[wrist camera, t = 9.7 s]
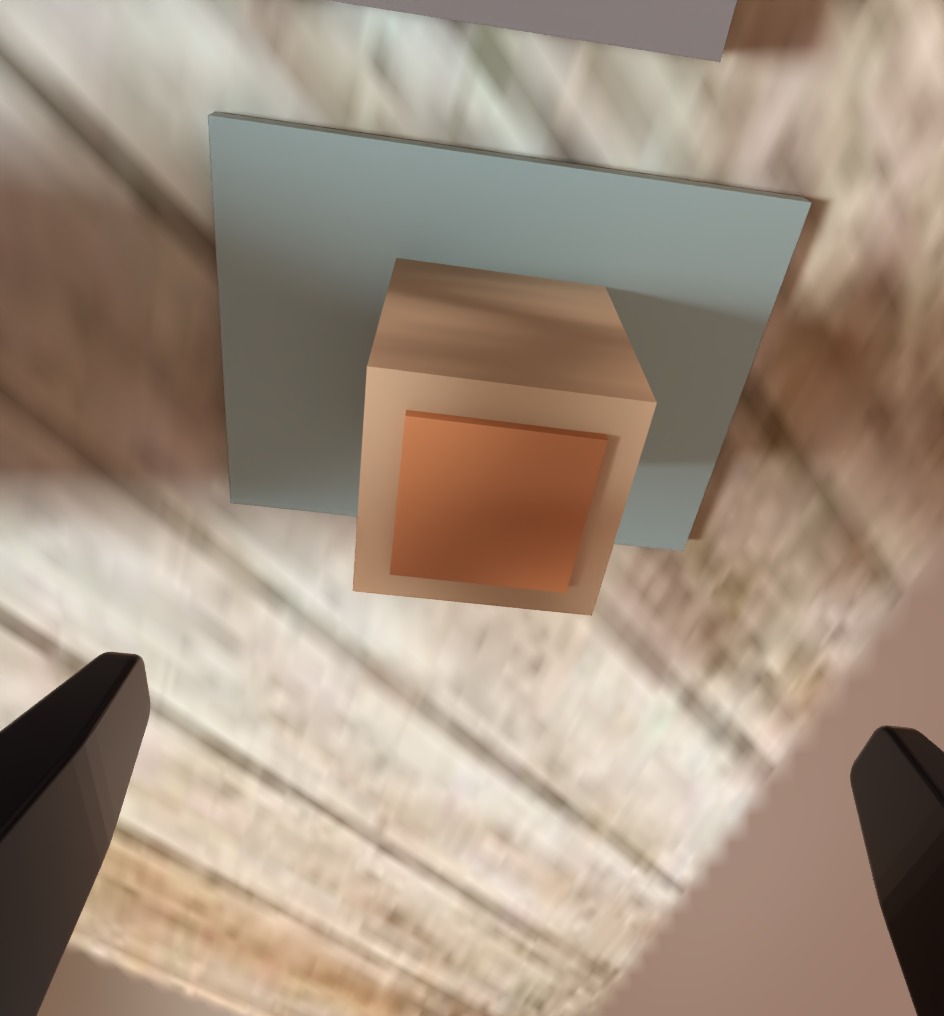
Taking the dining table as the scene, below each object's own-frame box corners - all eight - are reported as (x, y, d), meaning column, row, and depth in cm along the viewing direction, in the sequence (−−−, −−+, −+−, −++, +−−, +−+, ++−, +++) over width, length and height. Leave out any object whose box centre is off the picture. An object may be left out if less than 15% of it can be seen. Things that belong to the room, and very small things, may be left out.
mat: (235, 492, 20) (230, 502, 19) (215, 111, 15) (207, 115, 14) (679, 540, 21) (683, 551, 20) (802, 197, 16) (811, 202, 15)
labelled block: (381, 442, 18) (351, 598, 14) (396, 257, 16) (365, 372, 11) (562, 464, 19) (593, 622, 14) (605, 286, 16) (659, 408, 12)
